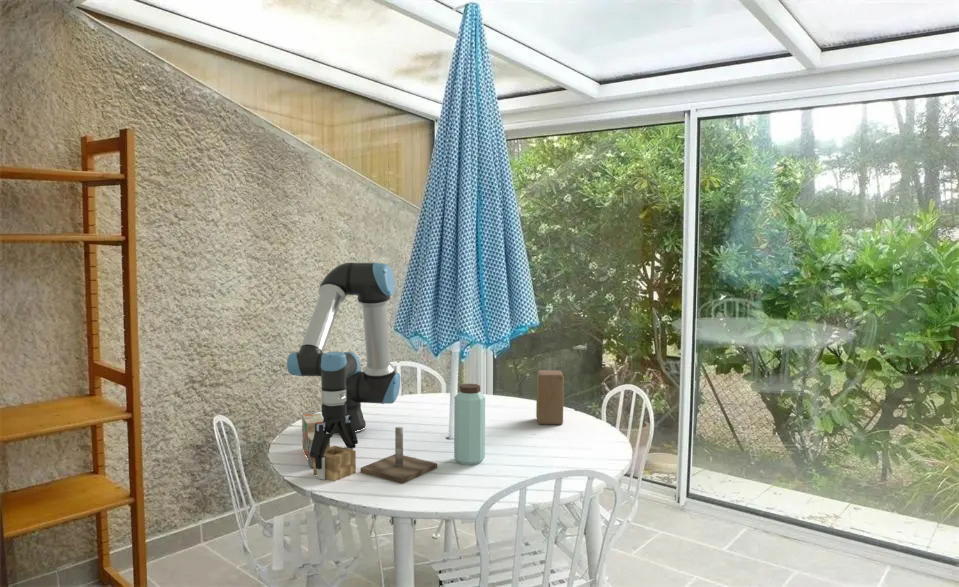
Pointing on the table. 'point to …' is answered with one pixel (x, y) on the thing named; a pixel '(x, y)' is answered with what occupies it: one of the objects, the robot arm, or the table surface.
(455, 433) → the water bottle
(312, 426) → the stack of blocks
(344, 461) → the bead
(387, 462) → the board
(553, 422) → the wooden block
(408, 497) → the table surface
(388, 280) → the robot arm
